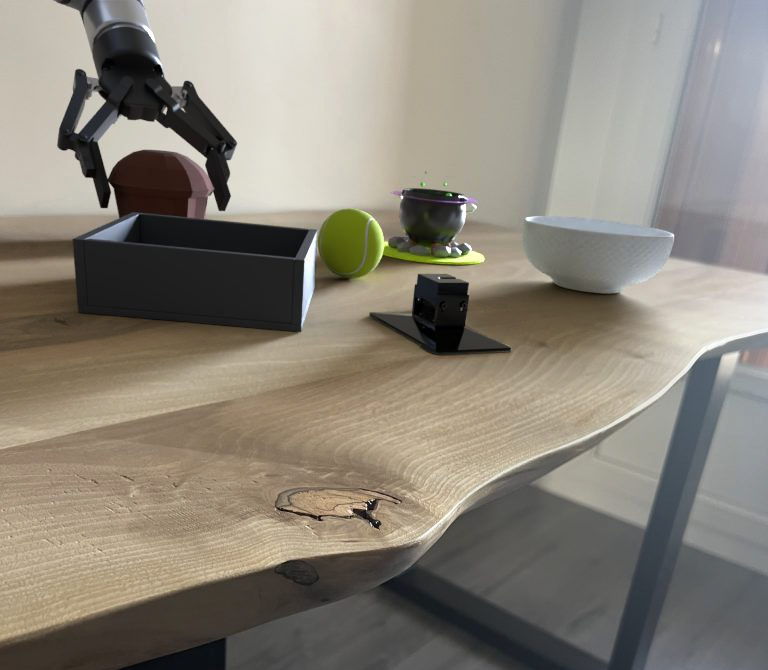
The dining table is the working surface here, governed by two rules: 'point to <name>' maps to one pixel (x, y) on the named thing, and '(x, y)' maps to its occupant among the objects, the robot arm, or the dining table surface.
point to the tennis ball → (350, 243)
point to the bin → (197, 271)
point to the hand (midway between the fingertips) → (167, 202)
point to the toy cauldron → (432, 227)
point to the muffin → (160, 184)
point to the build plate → (440, 318)
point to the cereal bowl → (594, 252)
